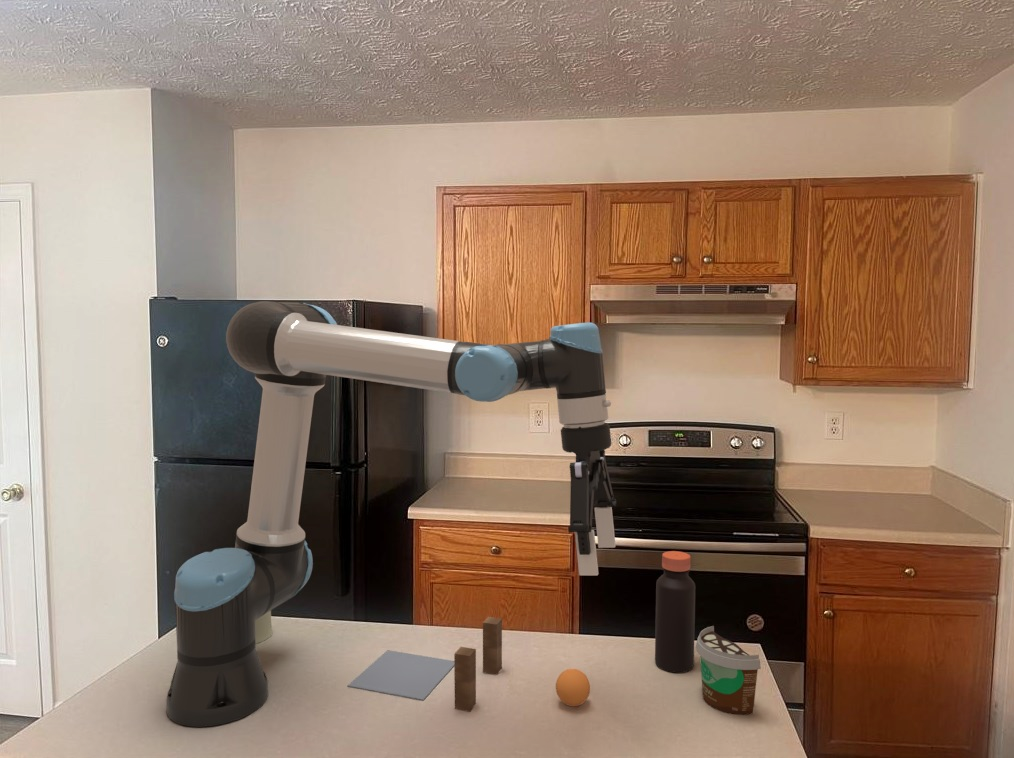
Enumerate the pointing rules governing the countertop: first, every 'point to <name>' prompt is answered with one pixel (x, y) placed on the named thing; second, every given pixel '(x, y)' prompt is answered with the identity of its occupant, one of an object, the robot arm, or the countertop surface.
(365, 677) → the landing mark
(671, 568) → the bottle
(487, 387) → the robot arm
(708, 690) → the food container
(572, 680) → the ball
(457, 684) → the post
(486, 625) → the post
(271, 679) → the countertop surface
